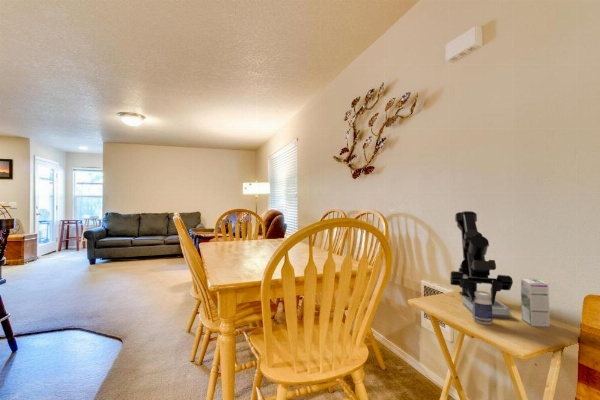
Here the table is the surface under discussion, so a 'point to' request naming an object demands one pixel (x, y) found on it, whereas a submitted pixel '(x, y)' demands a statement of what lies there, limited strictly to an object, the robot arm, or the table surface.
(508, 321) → the table surface
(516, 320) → the table surface
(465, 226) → the robot arm
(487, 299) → the pill bottle
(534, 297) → the syrup box
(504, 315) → the tray
